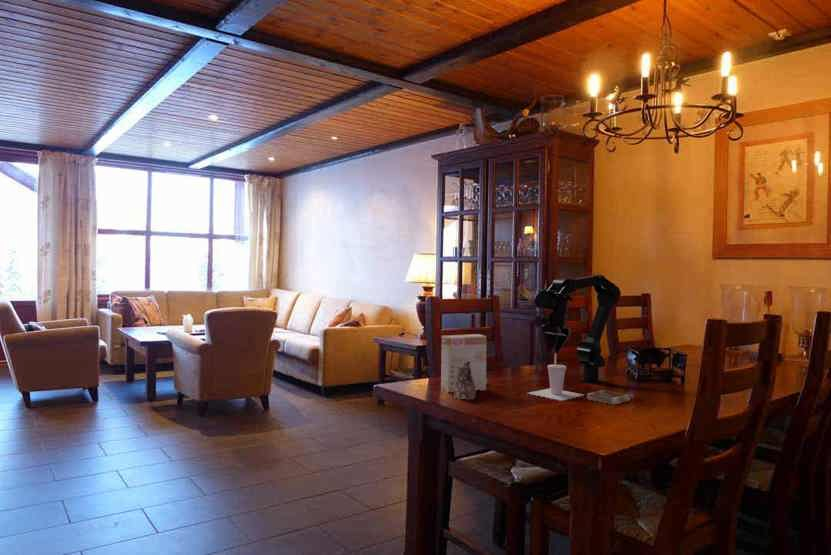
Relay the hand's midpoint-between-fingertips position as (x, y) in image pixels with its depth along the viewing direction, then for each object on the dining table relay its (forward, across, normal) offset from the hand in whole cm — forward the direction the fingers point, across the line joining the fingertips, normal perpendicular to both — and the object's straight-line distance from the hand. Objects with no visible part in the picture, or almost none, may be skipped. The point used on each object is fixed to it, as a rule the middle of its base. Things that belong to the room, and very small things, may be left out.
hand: (553, 352), depth 222 cm
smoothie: (+14, +14, +7) cm, 21 cm away
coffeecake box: (+18, +24, -23) cm, 38 cm away
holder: (+12, +12, +24) cm, 30 cm away
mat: (+14, +14, +7) cm, 21 cm away
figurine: (+19, +36, -17) cm, 44 cm away
